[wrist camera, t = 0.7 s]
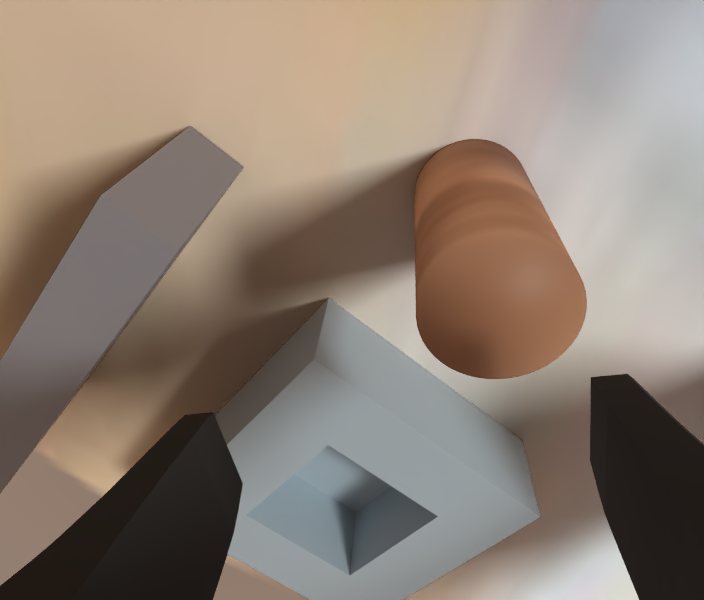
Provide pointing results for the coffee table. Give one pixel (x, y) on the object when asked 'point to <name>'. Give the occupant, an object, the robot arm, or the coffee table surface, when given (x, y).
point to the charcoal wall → (104, 285)
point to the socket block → (366, 468)
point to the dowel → (490, 266)
